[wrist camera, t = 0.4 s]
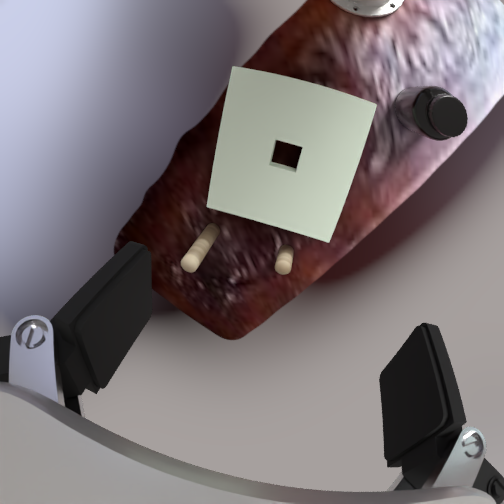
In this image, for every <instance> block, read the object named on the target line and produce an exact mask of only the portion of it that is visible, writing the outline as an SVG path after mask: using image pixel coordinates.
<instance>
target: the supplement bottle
mask: <svg viewBox="0 0 504 504" xmlns="http://www.w3.org/2000/svg"><path fill="white" fill-rule="evenodd" d="M395 109H396V114H397V117H398V119H399V121H400V122H401V123H402V124H403V125H404V126H405V127H406V128H407V129H409V130H411V131H413V132H415V133H418V134H420V135H423V136H425V137H427V138H430V139H433V140H437V141H443V140H447V139H449V138H451V137H455V136H458V135H460V134H461V133H463V131H464V130H465V127H466V126H467V119H468V118H467V113H466V110H465V107H464V106H463V104H462V103H461V102H460V100H458V99H457V98H456V97H454V96H452V95H451V94H450V93H449V92H448V91H447V90H445V89H443V88H441V87H437V86H420V87H409V88H406V89H404V90H403V91H402V92H401V93H400V94H399V95H398V97H397V99H396V104H395Z"/></svg>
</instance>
